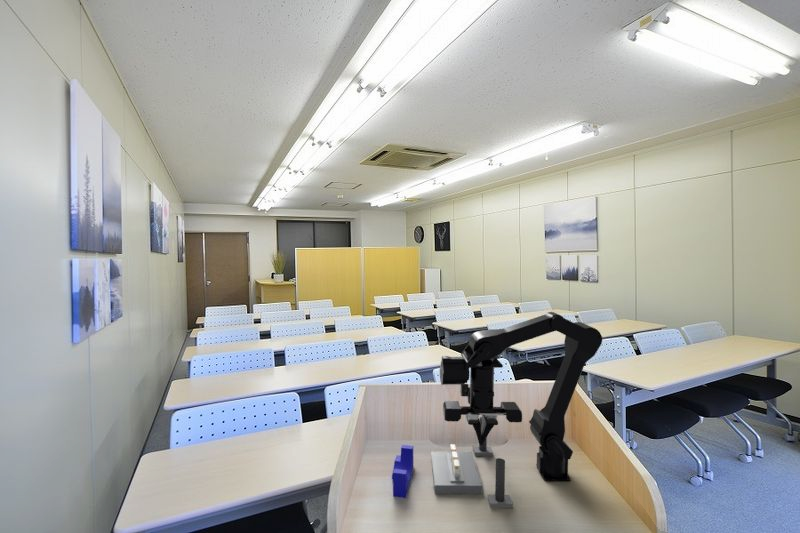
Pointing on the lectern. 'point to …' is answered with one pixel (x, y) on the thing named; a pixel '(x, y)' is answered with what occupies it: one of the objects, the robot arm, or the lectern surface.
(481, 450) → the grey post on base
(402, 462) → the cable clip
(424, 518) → the lectern surface
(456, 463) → the breaker paddles
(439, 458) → the breaker panel
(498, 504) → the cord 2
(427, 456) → the lectern surface
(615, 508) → the lectern surface
